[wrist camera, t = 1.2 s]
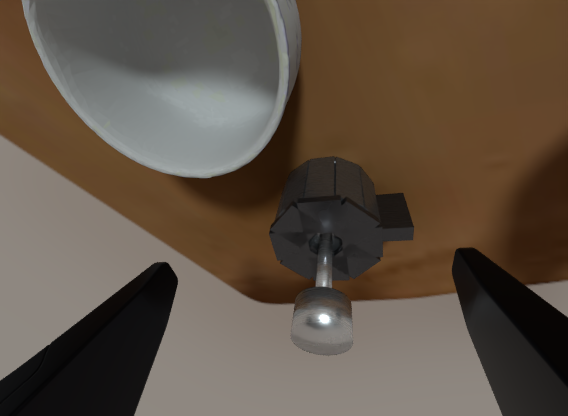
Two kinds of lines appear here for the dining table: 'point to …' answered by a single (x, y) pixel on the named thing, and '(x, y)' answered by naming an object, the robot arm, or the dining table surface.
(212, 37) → the teacup
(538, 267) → the dining table surface
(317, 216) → the octagonal grey mug
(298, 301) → the plunger
